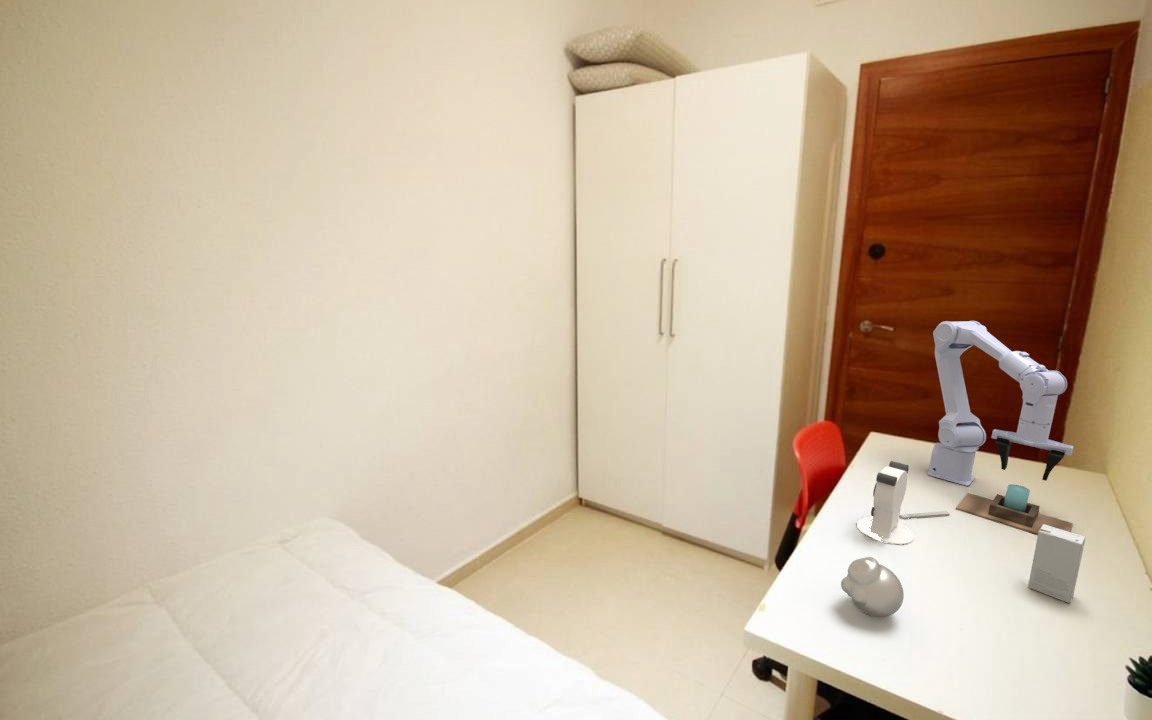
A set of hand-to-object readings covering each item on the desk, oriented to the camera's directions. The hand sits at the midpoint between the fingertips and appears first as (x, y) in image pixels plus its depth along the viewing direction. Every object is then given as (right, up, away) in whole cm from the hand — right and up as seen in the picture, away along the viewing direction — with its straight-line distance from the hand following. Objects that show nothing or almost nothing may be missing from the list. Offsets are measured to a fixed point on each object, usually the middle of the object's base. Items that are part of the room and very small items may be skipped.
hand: (1023, 473), depth 124 cm
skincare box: (-20, -16, -28) cm, 38 cm away
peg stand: (-4, -10, -2) cm, 11 cm away
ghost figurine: (-57, -17, -34) cm, 69 cm away
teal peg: (-4, -10, -2) cm, 11 cm away
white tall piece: (-39, -11, -8) cm, 41 cm away
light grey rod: (-26, -10, -2) cm, 28 cm away
